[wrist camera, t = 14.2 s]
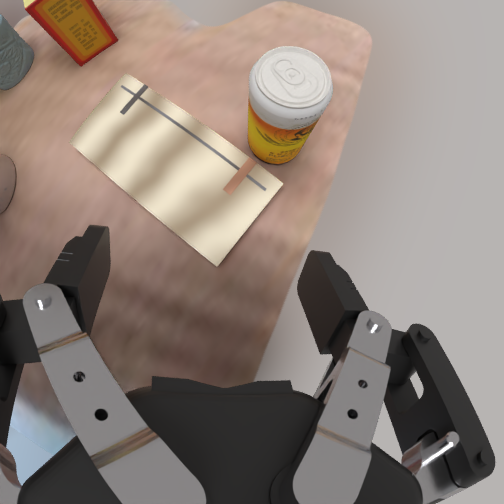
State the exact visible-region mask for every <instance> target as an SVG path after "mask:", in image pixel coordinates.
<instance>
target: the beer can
mask: <svg viewBox="0 0 504 504" xmlns="http://www.w3.org/2000/svg"><path fill="white" fill-rule="evenodd" d="M332 94H333V84H332V80H331V74H330V71H329V69H328V67H327V65H326V64H325V63H324V61H323V60H322V59H321V58H320V57H318V56H317V55H316V54H314V53H313V52H311V51H309V50H306V49H304V48H300V47H295V46H283V47H278V48H274V49H272V50H270V51H268V52H267V53H265V54H264V55H263V56H262V57H261V58H260V59H259V60H258V61H257V62H256V63H255V64H254V66H253V67H252V69H251V72H250V75H249V103H248V143H249V146H250V148H251V150H252V152H253V153H254V154H255V155H256V156H257V157H258V158H259V159H261V160H263V161H265V162H268V163H272V164H280V163H285V162H288V161H290V160H291V159H293V158H294V157H295V156H296V155H297V154H298V153H299V151H300V149H301V148H302V146H303V145H304V143H305V141H306V140H307V138H308V136H309V135H310V133H311V131H312V130H313V128H314V127H315V125H316V123H317V122H318V120H319V118H320V117H321V115H322V114H323V112H324V110H325V109H326V107H327V105H328V104H329V102H330V100H331V97H332Z"/></svg>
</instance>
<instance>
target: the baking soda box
mask: <svg viewBox="0 0 504 504" xmlns="http://www.w3.org/2000/svg"><path fill="white" fill-rule="evenodd" d="M23 1H24V6H25V10H26V11H27V12H28V13H29V14H30V15H31V16H32V17H33V18H34V19H35V20H36V21H37V22H38V23H39V24H40V25H41V26H42V27H43V29H44V30H45V31H46V32H47V33H48V34H49V35H50V36H51V37H52V38H53V39H54V40H55V41H56V42H57V43H58V44H59V45H60V46H61V47H62V48H63V49H64V50H65V51H66V52H67V53H68V54H69V55H70V56H71V57H72V58H73V59H74V60H75V61H76V62H77V63H78V64H79V65H80V66H83V65H84V64H85V63H87V62H88V61H89V60H91V59H92V58H93V57H95V56H96V55H98V54H99V53H101V52H102V51H104V50H105V49H106V48H108V47H109V46H111V45H112V44H114V43H116V42H117V41H118V39H117V38H116V36H115V34H114V33H113V31H112V30H111V28H110V26H109V25H108V23H107V22H106V20H105V18H104V17H103V15H102V14H101V12H100V11H99V9H98V7H97V6H96V4H95V3H94V1H93V0H23Z"/></svg>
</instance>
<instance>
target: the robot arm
mask: <svg viewBox="0 0 504 504" xmlns="http://www.w3.org/2000/svg"><path fill="white" fill-rule="evenodd" d="M15 180H16V173H15V167H14V164H13V162H12V160H11V159H10V158H9V157H7V156H5V155H2V154H0V213H2V212H3V211H4V210H5V209H6V207H7V206H8V204H9V202H10V200H11V198H12V195H13V192H14V188H15ZM109 272H110V237H109V228H108V227H107V226H97V225H89V226H88V228H87V230H86V231H85V233H84V235H83V237H78V236H76V237H74V238H73V239H72V240H70V241H69V242H68V243H67V244H66V245H65V247H64V248H63V250H62V253H60V255H59V257H58V260H56V262H55V264H54V265H53V267H52V269H51V271H50V272H49V274H48V276H47V278H46V280H45V281H44V283H43V284H39V285H36V286H34V287H32V288H31V289H29V290H28V291H27V292H26V294H25V295H24V298H23V299H20V300H10V301H3V300H2V297H1V295H0V504H436V503H438V502H440V501H442V500H444V499H446V498H449V497H451V496H453V495H455V494H457V493H459V492H461V491H463V490H464V489H466V488H468V487H470V486H472V485H474V484H476V483H477V482H479V481H481V480H483V479H484V478H486V477H488V476H489V475H490V474H491V473H492V472H493V470H494V467H495V456H494V453H493V450H492V448H491V445H490V443H489V440H488V438H487V436H486V433H485V431H484V429H483V427H482V424H481V422H480V420H479V418H478V416H477V414H476V411H475V410H474V407H473V405H472V403H471V401H470V399H469V397H468V395H467V393H466V391H465V389H464V387H463V385H462V383H461V381H460V379H459V378H458V376H457V374H456V372H455V370H454V368H453V366H452V365H451V363H450V361H449V359H448V357H447V356H446V354H445V352H444V350H443V349H442V347H441V345H440V343H439V342H438V340H437V338H436V336H435V335H434V334H433V332H432V331H431V330H430V329H428V328H427V327H425V326H423V325H421V324H412V325H411V326H410V327H409V329H408V330H407V332H402V331H398V330H394V329H392V328H391V325H390V323H389V322H388V320H387V319H385V317H383V316H382V315H380V314H379V313H376V312H374V311H369V309H368V307H367V306H366V304H365V302H364V300H363V299H362V297H361V295H360V294H359V292H358V290H356V287H355V285H354V283H352V280H351V278H350V277H349V275H348V273H347V272H346V271H344V270H343V269H342V268H341V267H340V266H339V265H337V264H336V263H335V261H334V259H333V257H332V256H331V254H330V253H329V252H322V251H314V250H312V251H311V252H310V253H309V254H308V257H307V259H306V262H305V264H304V267H303V270H302V272H301V275H300V278H299V280H298V286H297V290H298V296H299V298H300V301H301V303H302V306H303V309H304V312H305V314H306V317H307V320H308V322H309V325H310V328H311V330H312V333H313V336H314V338H315V341H316V344H317V347H318V349H319V352H320V354H332V356H333V358H332V360H331V361H330V363H329V365H328V367H327V369H326V372H325V374H324V376H323V378H322V380H321V382H320V384H319V386H318V388H317V390H316V392H315V394H314V396H313V397H312V396H310V395H307V394H305V393H302V392H299V391H295V390H293V389H292V385H291V382H290V380H288V381H257V382H253V383H248V384H244V385H239V386H235V387H230V388H220V387H216V386H212V385H208V384H204V383H200V382H196V381H193V380H189V379H180V378H167V377H156V376H152V386H148V387H143V388H139V389H135V390H133V391H130V392H128V393H126V394H124V393H123V391H122V390H121V388H120V387H119V385H118V384H117V382H116V381H115V379H114V378H113V376H112V375H111V373H110V371H109V370H108V368H107V367H106V365H105V363H104V362H103V360H102V358H101V357H100V355H99V353H98V352H97V350H96V348H95V347H94V345H93V343H92V341H91V340H90V338H89V336H90V333H91V329H92V326H93V322H94V319H95V316H96V313H97V309H98V306H99V303H100V300H101V297H102V294H103V291H104V288H105V285H106V282H107V279H108V276H109ZM34 362H42V363H43V366H44V368H45V371H46V373H47V375H48V378H49V380H50V382H51V385H52V387H53V389H54V391H55V393H56V395H57V398H58V400H59V402H60V404H61V406H62V408H63V410H64V412H65V414H66V416H67V418H68V419H69V421H70V423H71V425H72V427H73V429H74V431H75V432H76V434H77V435H76V436H75V437H74V438H73V439H72V440H71V441H70V442H69V443H67V444H66V445H65V446H64V447H63V448H62V449H61V450H60V451H59V452H57V453H56V454H55V455H54V456H53V457H52V458H51V459H50V460H48V461H47V462H46V463H45V464H44V465H43V466H42V467H41V468H40V469H38V470H37V471H36V472H35V473H34V474H33V475H32V476H31V477H29V478H28V479H27V480H26V481H25V483H24V484H23V486H21V485H20V483H19V481H18V478H17V471H16V463H15V460H14V457H13V455H12V454H11V452H10V451H9V450H8V449H7V448H6V444H7V438H8V431H9V426H10V421H11V416H12V411H13V406H14V402H15V397H16V393H17V389H18V385H19V381H20V377H21V373H22V370H23V366H24V363H34ZM416 371H417V374H418V376H419V378H420V380H421V382H422V384H423V388H424V391H423V395H422V397H421V398H420V399H419V398H418V396H417V394H416V391H415V389H414V387H413V385H412V382H411V380H410V377H411V376H412V375H413V374H414V373H415V372H416ZM383 400H384V403H385V405H386V408H387V411H388V414H389V417H390V419H391V422H392V425H393V427H394V431H395V434H396V436H397V439H398V442H399V445H400V448H401V451H402V454H403V456H402V464H400V463H399V462H398V461H396V460H395V459H394V458H392V457H391V456H389V455H388V454H387V453H385V452H384V451H383V450H381V449H380V448H379V447H377V446H376V445H375V444H373V443H372V439H373V436H374V432H375V429H376V425H377V422H378V419H379V415H380V411H381V407H382V404H383Z"/></svg>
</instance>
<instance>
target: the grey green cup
mask: <svg viewBox="0 0 504 504" xmlns="http://www.w3.org/2000/svg"><path fill="white" fill-rule="evenodd" d="M33 59H34V52H33V50H32V48H31V47H30V46H29V45H28V44H27V43H26V42H25V41H24V40H23V39H22V38H21V37H20V36H19V34H18V33H17V32H16V31H15V30H14V29H13V28H12V27H11V26H10V25H9V23H8V22H7V20H6V19H5V18H4V17H3V16H2V15H1V14H0V89H3V90H7V89H10V88H12V87H14V86H15V85H16V84H17V83H19V82H20V81H21V80H22V78H23V77H24V76H25V75H26V73H27V72H28V70H29V69H30V67H31V65H32V62H33Z"/></svg>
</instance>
